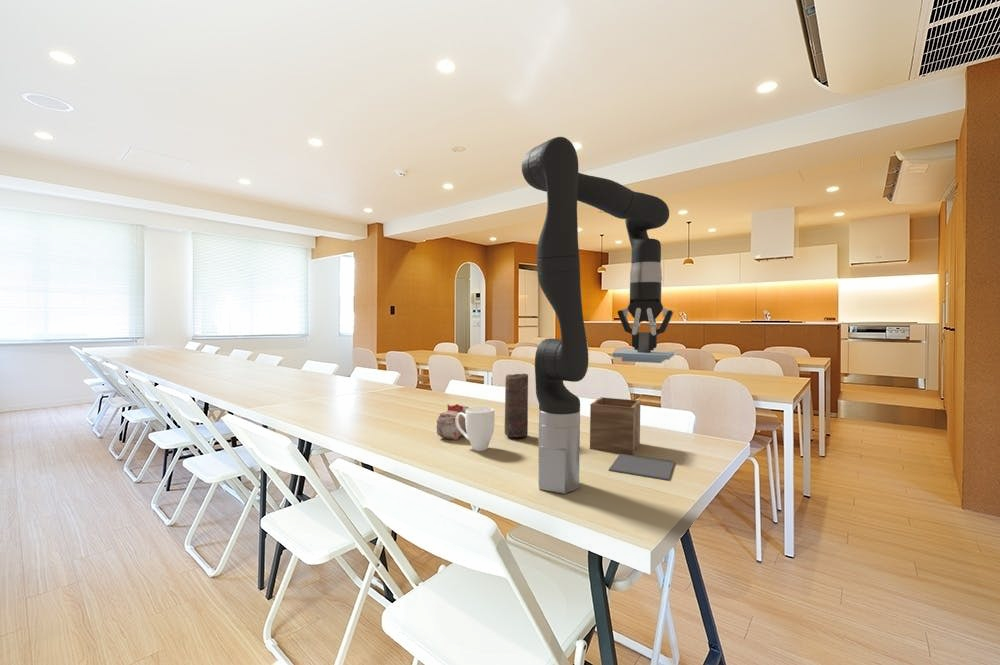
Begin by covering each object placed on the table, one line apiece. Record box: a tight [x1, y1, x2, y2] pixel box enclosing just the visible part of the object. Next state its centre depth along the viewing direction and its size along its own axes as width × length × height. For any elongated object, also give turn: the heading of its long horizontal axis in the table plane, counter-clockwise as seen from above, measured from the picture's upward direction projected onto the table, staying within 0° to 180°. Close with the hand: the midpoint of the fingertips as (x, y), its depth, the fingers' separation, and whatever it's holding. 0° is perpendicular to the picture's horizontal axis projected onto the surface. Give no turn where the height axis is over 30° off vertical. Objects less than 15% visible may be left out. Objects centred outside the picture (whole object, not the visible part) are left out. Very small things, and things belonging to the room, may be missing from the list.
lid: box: [612, 331, 675, 364], centre depth 111 cm, size 13×13×7 cm
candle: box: [504, 373, 529, 438], centre depth 138 cm, size 8×7×20 cm
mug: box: [455, 406, 495, 452], centre depth 127 cm, size 12×8×11 cm
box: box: [589, 396, 641, 455], centre depth 129 cm, size 12×12×13 cm
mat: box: [608, 453, 675, 481], centre depth 112 cm, size 14×14×1 cm
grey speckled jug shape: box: [436, 404, 470, 441], centre depth 141 cm, size 14×8×10 cm, turn 165°
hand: (644, 349), depth 111 cm, fingers closed on lid, 3 cm apart
